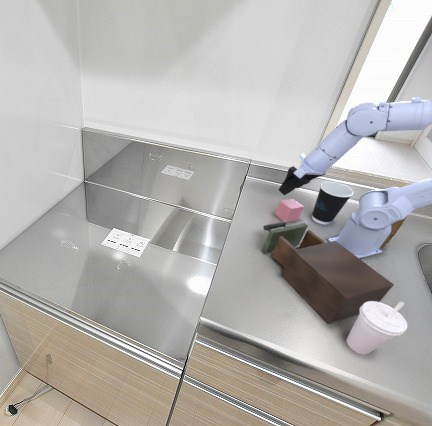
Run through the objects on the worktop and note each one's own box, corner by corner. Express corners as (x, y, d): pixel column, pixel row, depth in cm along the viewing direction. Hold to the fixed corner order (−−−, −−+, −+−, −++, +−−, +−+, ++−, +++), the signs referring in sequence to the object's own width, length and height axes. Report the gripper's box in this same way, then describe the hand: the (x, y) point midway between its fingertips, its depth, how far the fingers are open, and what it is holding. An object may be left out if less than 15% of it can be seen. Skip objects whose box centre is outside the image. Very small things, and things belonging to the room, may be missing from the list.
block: (287, 211, 92) (292, 198, 89) (297, 220, 88) (303, 206, 85) (274, 214, 91) (279, 200, 88) (285, 222, 87) (290, 209, 84)
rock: (396, 250, 74) (419, 233, 77) (385, 219, 73) (409, 203, 76) (350, 247, 84) (372, 232, 87) (340, 220, 84) (363, 206, 86)
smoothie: (364, 367, 53) (408, 323, 45) (330, 337, 58) (365, 292, 50) (386, 353, 55) (432, 308, 47) (352, 325, 60) (389, 280, 52)
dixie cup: (338, 217, 89) (355, 186, 82) (334, 231, 84) (352, 199, 77) (308, 208, 93) (323, 178, 86) (303, 221, 88) (318, 190, 81)
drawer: (252, 239, 80) (258, 220, 76) (284, 232, 82) (292, 213, 78) (297, 286, 67) (309, 265, 63) (334, 276, 69) (347, 256, 65)
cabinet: (281, 275, 71) (293, 250, 66) (320, 265, 73) (335, 240, 68) (327, 324, 60) (346, 298, 55) (372, 310, 63) (394, 284, 58)
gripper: (327, 136, 76) (289, 173, 86) (303, 144, 68) (264, 184, 78) (350, 154, 73) (308, 190, 83) (328, 165, 65) (284, 204, 75)
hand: (288, 189), depth 80 cm, fingers open, 7 cm apart
